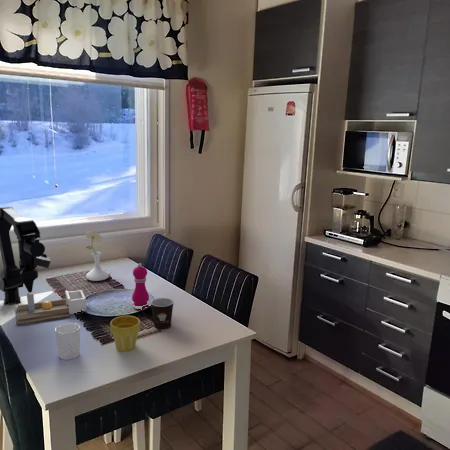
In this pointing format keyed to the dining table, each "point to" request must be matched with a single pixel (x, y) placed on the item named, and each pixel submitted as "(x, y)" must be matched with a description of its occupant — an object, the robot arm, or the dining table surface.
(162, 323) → the coffee mug
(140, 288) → the pepper mill
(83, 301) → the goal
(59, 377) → the dining table surface
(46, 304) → the ball
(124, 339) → the plant pot
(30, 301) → the striker
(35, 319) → the board
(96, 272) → the flower in vase
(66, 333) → the white cup
